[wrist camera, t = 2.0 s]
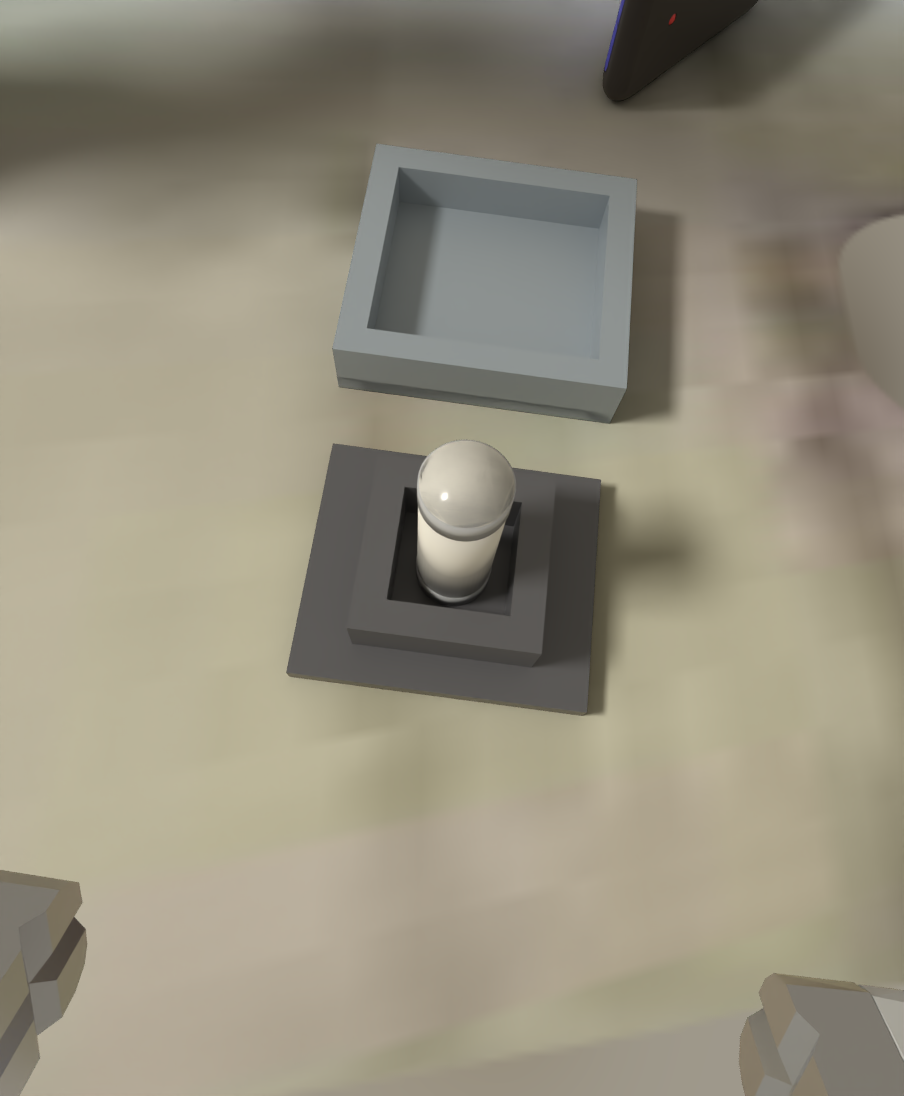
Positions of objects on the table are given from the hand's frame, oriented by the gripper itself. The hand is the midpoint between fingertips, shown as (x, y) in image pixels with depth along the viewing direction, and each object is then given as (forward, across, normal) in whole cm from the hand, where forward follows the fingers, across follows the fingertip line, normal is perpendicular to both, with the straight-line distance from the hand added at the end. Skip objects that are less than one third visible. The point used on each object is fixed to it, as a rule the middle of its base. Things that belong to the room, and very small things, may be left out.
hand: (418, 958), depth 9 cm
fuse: (+27, 0, +8) cm, 28 cm away
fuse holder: (+27, 0, +9) cm, 29 cm away
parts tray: (+39, 0, -4) cm, 39 cm away
